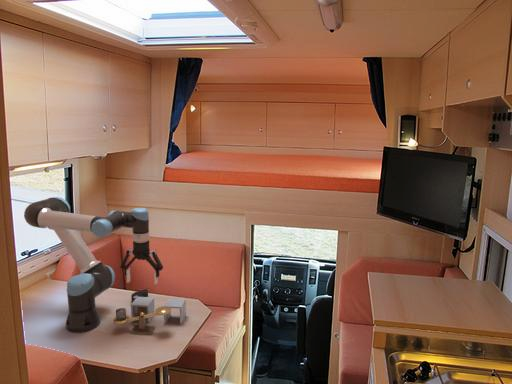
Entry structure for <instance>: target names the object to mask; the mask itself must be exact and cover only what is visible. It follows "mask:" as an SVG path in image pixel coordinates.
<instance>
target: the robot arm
mask: <svg viewBox="0 0 512 384" xmlns="http://www.w3.org/2000/svg"><path fill="white" fill-rule="evenodd" d="M23 213H24V214H23V215H24V216H23V217H24V220H25V222H26V223H27V224H28V225H30V226H31V227H34V228H39V229H49V230H52V231H54V232H55V234H56V236H57V237H58V239H59V240H60V241H61V243H62V244H63V246H64V247H65V249H66V250H67V252H68V254H69V255H70V256H71V258H72V260H73V261H74V262H75V264H76V265H77V267H78V269H79V271H80V273H79V274H75V275H74V276H72V277H71V278H69V279H68V281H67V283H66V293H67V294H66V295H67V304H68V306H67V307H68V313H67V317H66V321H65V329H66V330H67V331H68V332H71V333H85V332H89V331H92V330H94V329H95V328H97V327H99V326H100V324H101V316H100V314H99V311H98V310H97V307H96V297H98V296H100V295H101V294H102V293H104V292H105V291H107V290H109V289H110V288H111V287H112V286H113V284H114V283H115V279H116V274H115V271H114V269H113V268H112V267H111V266H110V265H107V264H104V263H103V262H102V261H101V260H98V259H96V257H95V256H94V254H93V253H92V251H91V250H90V248H89V246H88V245H87V244H86V242H85V241H84V240H83V238H82V236H81V235H80V233H79V232H84V233H91V234H93V235H95V236H96V237H97V238H98V237H99V238H103V237H106V236H108V235H110V234H112V233H114V232H115V231H118V230H120V229H122V228H126V229H127V228H128V229H132V241H133V242H132V249H131V248H128V249H127V250H126V254H125V256H124V259H123V261H122V262H121V264H120V266H119V267H120V268H121V269H123V270H124V276H126V283H127V284H129V283H130V282H131V267H130V266H131V265H132V264H133V262H135V260H139V261H141V260H142V261H146V262H148V264H149V265H150V266H151V267H152V268H153V269H154V271H153V272H154V273H153V275H154V276H153V278H154V279H153V281H154V285H157V284H158V281H159V280H158V279H159V278H160V271H162V270H163V269H164V266H163V263H162V262H161V259H159V256H158V253H157V250H156V249H154V250H150V225H149V224H150V220H149V219H150V216H149V210H148V209H147V208H145V207H135V208H133V209H132V210H131V211H123V210H111V211H109V213H108V214H107V216H98V215H97V216H96V215H89V214H81V213H74V212H71V205H70V204H69V202H68V201H67V200H66V199H64V198H62V197H60V196H54V197H53V196H52V197H49V198H47V199H42V200H38V201H36V202H35V201H34V202H32V203H30V204H29V205H28V206H26V208H25V210H24V211H23ZM131 254H133V257H132V259H131V260H130V261H129V262H128V260H129V257H130V256H131ZM150 255H151V256H152V257H151V256H150ZM152 258H153V259H152ZM127 262H128V263H127ZM126 263H127V264H126Z"/></svg>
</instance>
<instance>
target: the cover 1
mask: <svg viewBox="0 0 512 384" xmlns="http://www.w3.org/2000/svg"><path fill="white" fill-rule="evenodd" d="M137 306H138V307H147V314H151V313H155V312H156V311H155V310H156V309H155V307H156V306H155V297H152V296H151V297H150V296H148V297H137V298H136V299H135V300H134V301H133V303H132V302H131V304H130V310H131V311H130V312H131V314H130V315H131V317H130V318H133V317H137ZM153 318H154V316H153V317H149V318H147V320H146V324H147V323H150V322H151V321H152V319H153ZM134 322H135V321H131V323H134Z"/></svg>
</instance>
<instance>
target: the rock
mask: <svg viewBox="0 0 512 384" xmlns="http://www.w3.org/2000/svg"><path fill="white" fill-rule="evenodd" d="M130 297H131V304H132V303H133V301H134V300H135V299H136V298H137V297H149V291H148V289H147V288H145V289H142V290H137V291H135V292H133V293H132V294H131V295H130Z"/></svg>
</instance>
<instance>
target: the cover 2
mask: <svg viewBox="0 0 512 384" xmlns="http://www.w3.org/2000/svg"><path fill="white" fill-rule="evenodd" d="M186 302H187V300H186V298H172V297H168V299H167V300H166V301H165V303H164V305H163V306H167V307H170V308H171V309H179V325H182V324H183V323H184V321H185V319H186V317H187V303H186ZM171 315H172V313H169V314H167V315H163V323H166V324H167V322H168V320H169V319H170V317H171Z"/></svg>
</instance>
